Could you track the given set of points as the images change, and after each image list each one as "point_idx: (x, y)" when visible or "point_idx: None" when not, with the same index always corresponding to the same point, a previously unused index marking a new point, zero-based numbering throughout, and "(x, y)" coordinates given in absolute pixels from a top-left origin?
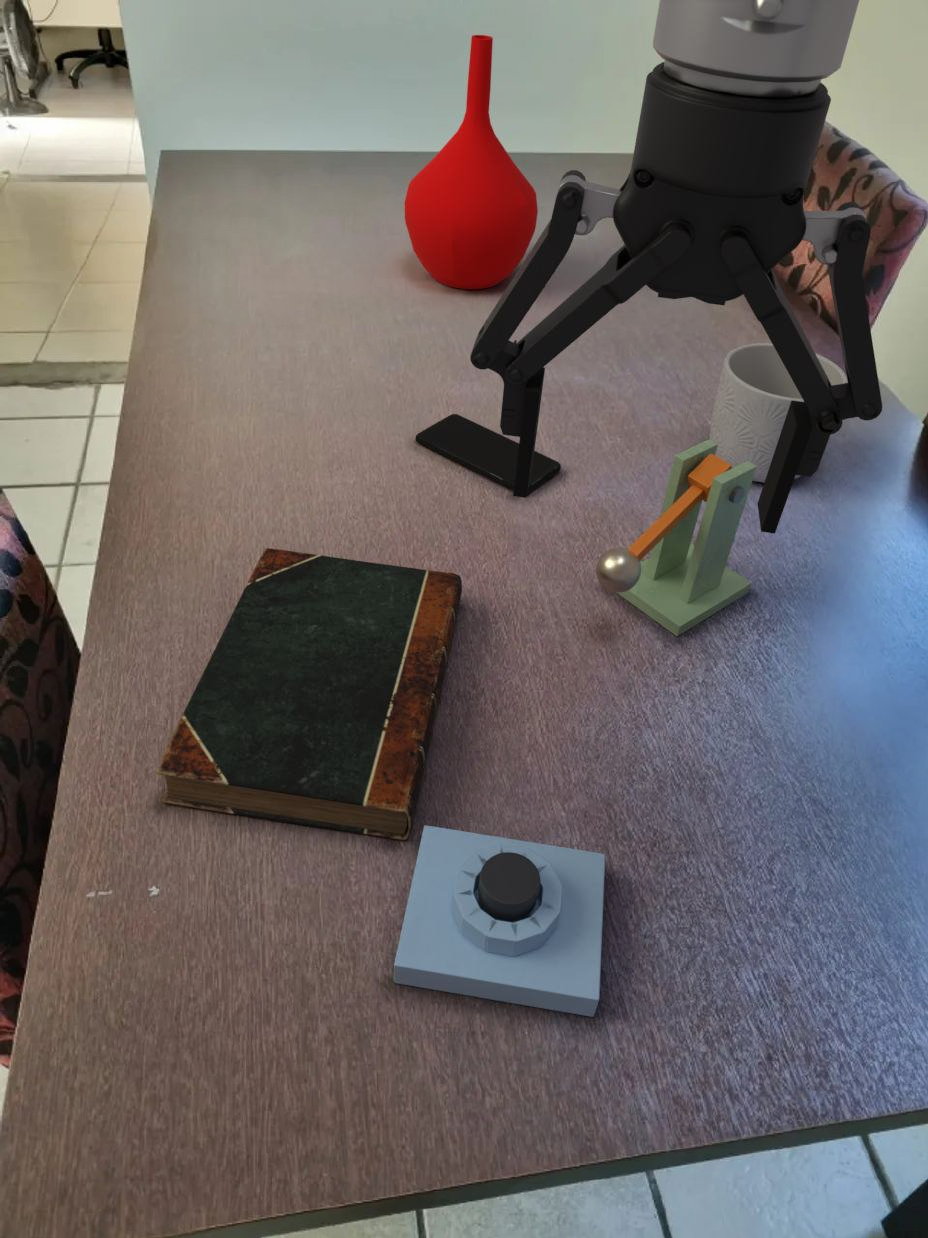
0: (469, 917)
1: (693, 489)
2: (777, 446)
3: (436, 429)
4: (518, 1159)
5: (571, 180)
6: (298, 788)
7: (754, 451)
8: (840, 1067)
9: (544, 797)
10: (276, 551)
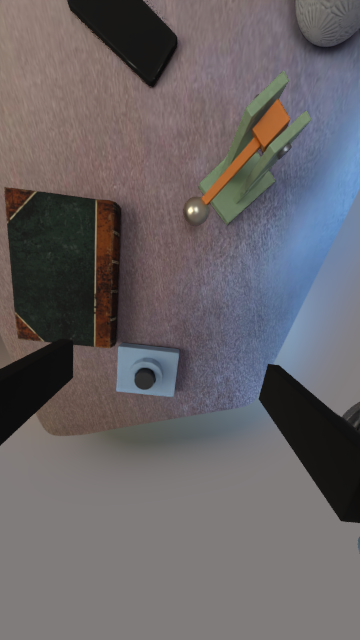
0: (133, 386)
1: (253, 143)
2: (308, 408)
3: None
4: (154, 420)
5: None
6: None
7: (327, 12)
8: (236, 398)
9: (161, 321)
10: (11, 190)
